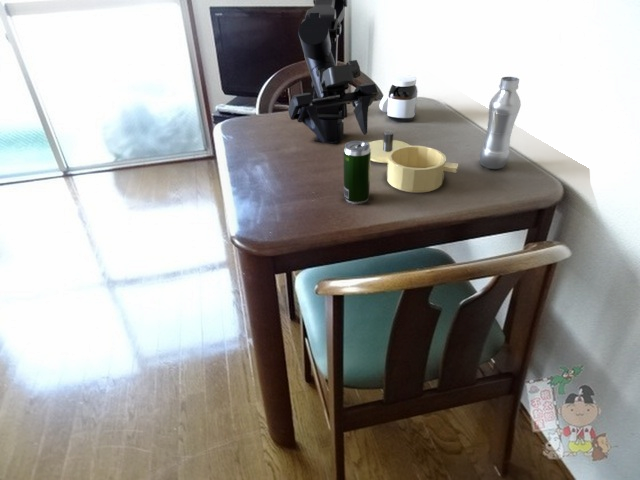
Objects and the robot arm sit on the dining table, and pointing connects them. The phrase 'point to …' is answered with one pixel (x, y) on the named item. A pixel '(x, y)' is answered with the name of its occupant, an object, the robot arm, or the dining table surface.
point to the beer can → (357, 171)
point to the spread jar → (400, 99)
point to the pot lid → (385, 145)
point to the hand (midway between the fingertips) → (345, 138)
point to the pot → (416, 168)
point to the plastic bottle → (500, 124)
